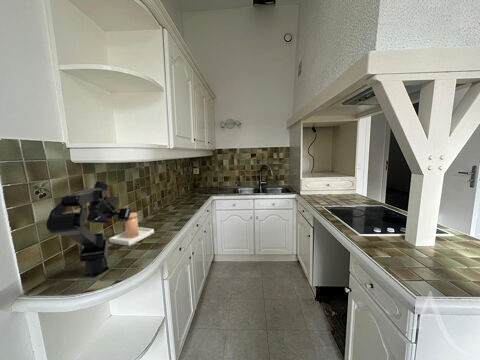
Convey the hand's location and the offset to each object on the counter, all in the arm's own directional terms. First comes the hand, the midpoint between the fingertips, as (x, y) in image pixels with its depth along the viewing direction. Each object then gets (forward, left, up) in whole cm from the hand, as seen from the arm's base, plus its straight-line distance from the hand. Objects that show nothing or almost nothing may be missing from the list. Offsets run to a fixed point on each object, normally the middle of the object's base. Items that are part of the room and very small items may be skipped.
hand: (117, 222), depth 107 cm
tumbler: (+10, +2, -12) cm, 16 cm away
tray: (+10, +2, -13) cm, 17 cm away
